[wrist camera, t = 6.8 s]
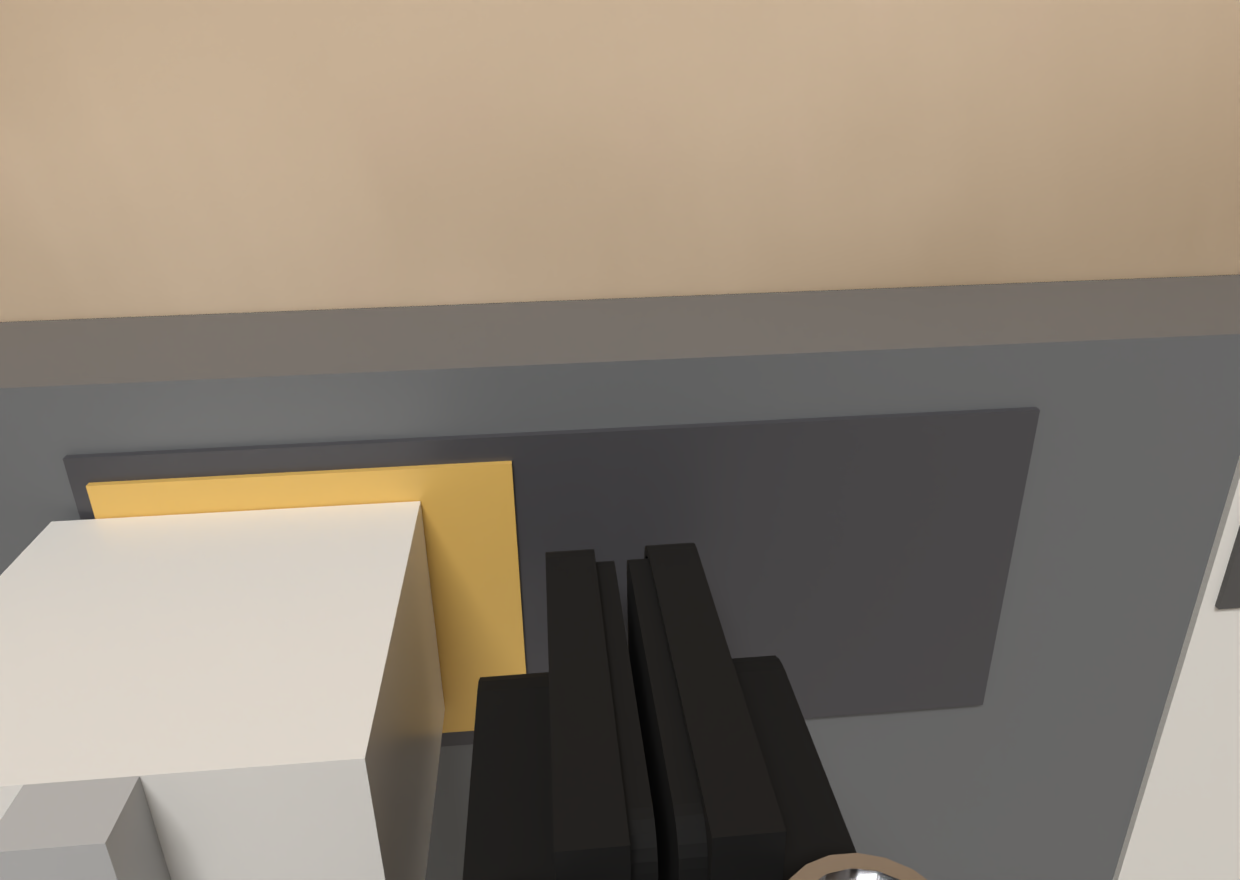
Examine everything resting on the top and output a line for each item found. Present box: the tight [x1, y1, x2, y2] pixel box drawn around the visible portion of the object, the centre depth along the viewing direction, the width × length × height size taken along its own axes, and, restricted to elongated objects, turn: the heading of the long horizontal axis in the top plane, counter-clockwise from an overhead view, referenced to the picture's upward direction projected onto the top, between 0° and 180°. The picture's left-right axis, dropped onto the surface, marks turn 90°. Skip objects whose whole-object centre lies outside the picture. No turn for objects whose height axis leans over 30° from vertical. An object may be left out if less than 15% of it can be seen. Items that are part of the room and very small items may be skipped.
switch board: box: [0, 275, 1240, 880], centre depth 14 cm, size 22×15×3 cm
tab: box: [0, 501, 445, 880], centre depth 9 cm, size 4×3×5 cm
